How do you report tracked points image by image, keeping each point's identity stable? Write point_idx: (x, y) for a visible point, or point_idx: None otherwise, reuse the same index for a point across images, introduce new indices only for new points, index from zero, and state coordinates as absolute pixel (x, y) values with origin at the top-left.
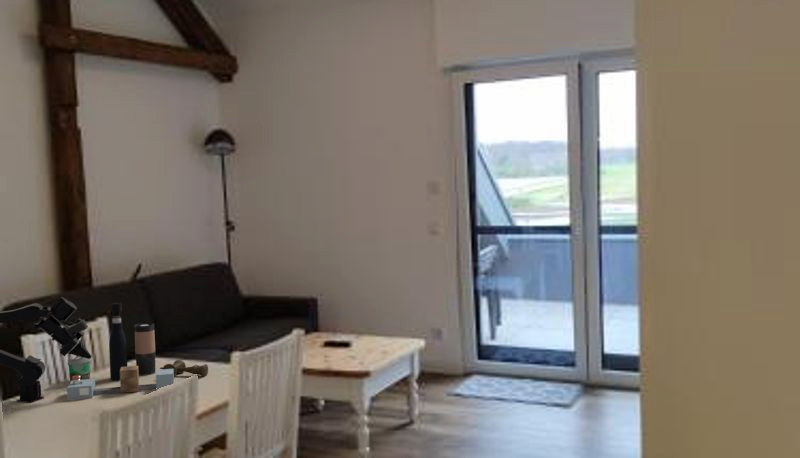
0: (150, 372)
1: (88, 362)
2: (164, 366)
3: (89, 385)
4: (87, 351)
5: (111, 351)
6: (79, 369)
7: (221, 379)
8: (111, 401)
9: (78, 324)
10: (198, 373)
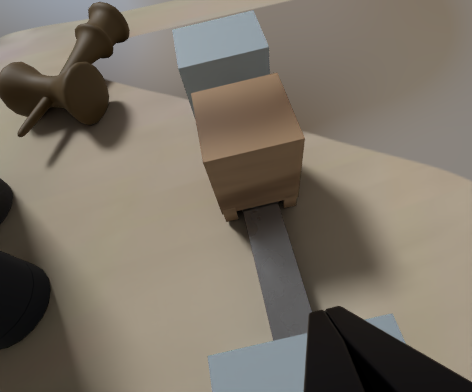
0: (5, 183)
1: None
2: (69, 91)
3: (392, 328)
4: (355, 369)
5: None
6: None
7: (169, 3)
8: (420, 205)
9: None
10: (116, 39)
